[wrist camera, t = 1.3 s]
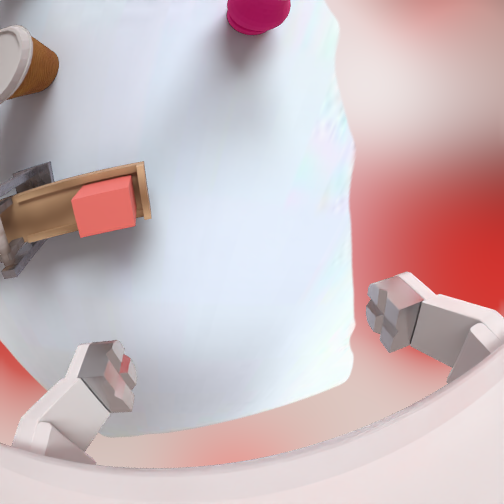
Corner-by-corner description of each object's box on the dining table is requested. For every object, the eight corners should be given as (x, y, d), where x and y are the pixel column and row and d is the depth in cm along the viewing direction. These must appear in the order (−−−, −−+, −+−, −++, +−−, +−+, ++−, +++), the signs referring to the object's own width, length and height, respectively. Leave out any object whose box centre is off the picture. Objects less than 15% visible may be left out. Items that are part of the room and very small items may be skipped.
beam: (-46, 212, 22) (-76, 237, 14) (143, 153, 32) (142, 165, 24) (-33, 253, 25) (-58, 284, 18) (150, 205, 35) (152, 232, 28)
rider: (83, 185, 27) (70, 200, 22) (131, 174, 28) (128, 187, 24) (90, 217, 29) (80, 237, 24) (136, 207, 30) (135, 226, 26)
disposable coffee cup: (77, 38, 22) (37, 16, 11) (60, 103, 26) (13, 105, 15) (25, 43, 19) (-22, 32, 8) (10, 105, 23) (-41, 112, 12)
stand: (15, 172, 28) (-34, 201, 17) (50, 161, 29) (2, 187, 18) (31, 237, 33) (-6, 281, 22) (65, 230, 34) (30, 276, 23)
